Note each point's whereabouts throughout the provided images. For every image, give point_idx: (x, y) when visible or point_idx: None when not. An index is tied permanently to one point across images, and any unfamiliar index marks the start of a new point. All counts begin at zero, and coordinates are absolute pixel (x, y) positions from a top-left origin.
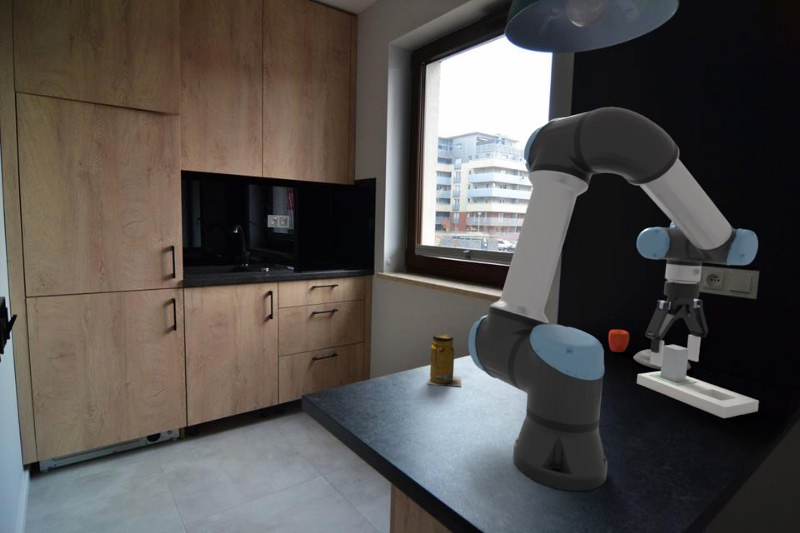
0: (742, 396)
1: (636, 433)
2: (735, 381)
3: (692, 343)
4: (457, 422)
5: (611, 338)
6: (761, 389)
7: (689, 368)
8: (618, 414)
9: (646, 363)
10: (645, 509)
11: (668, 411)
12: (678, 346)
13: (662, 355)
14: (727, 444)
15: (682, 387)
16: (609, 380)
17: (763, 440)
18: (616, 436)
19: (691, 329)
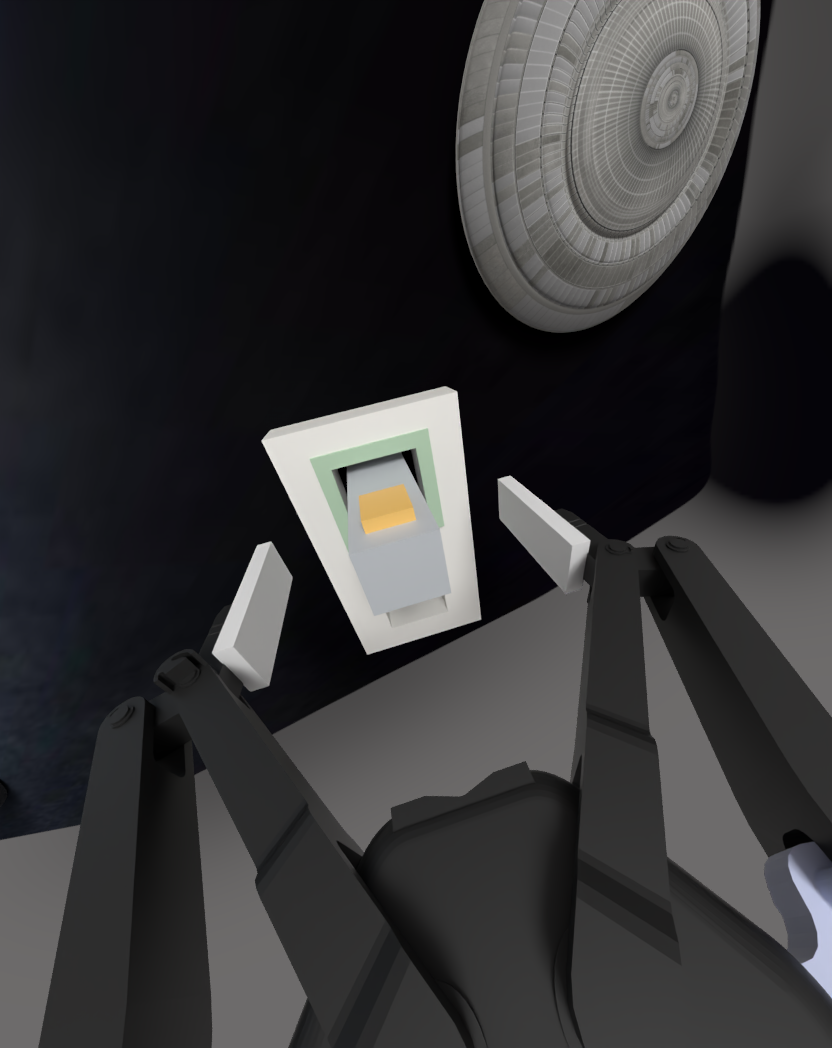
0: (469, 603)
1: (113, 701)
2: (643, 431)
3: (541, 541)
4: None
5: None
6: (631, 492)
7: (615, 314)
8: (91, 643)
9: (465, 199)
10: (60, 816)
11: None
12: (434, 560)
13: (282, 614)
14: (287, 703)
15: None
16: (142, 384)
17: (363, 686)
18: (57, 716)
19: (591, 596)
